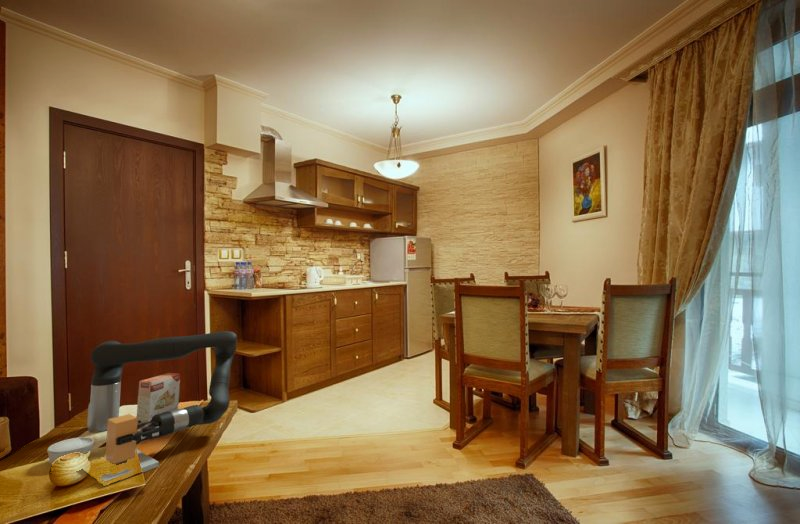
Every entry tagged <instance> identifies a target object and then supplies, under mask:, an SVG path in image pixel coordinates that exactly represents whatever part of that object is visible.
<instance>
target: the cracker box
mask: <svg viewBox="0 0 800 524" xmlns="http://www.w3.org/2000/svg"><path fill="white" fill-rule="evenodd" d="M180 384H181V374H180V373H175V372H166V373H163V374H160V375H157V376H153V377H150V378H146V379H142V380H140V381H139V382H138V394H137V406H136V407H137V409H136V417H137V418H138V419H137V421H138V420H141V423H142V422H146V421H147V422H150V421H151V420H152V418H153V416H154V415H156V414H160V413H164V412H167V411H171V410H175V409H179V399H180Z"/></svg>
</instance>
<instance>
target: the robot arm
mask: <svg viewBox="0 0 800 524" xmlns="http://www.w3.org/2000/svg"><path fill="white" fill-rule="evenodd" d="M237 346H238V336H237V334H236V333H235V332H234V331H229V330H223V331H222V330H221V331H214V332H209V333H204V334H195V335H194V334H193V335H185V336H184V335H183V336H169V337H160V338H155V339H150V340H145V341H141V342H135V343H121V342H119V341H116V340H107V341H104V342H102V343H100V344H99V345H96V346H95V348H94V349H93V350H92V351H91V353H90V356H89V357H90V361H91V362H92V364H93V365H94V370H93V374H92V376H91V384H90V398H89V400H90V402H89V403H88V407H87V408H88V409H87V421H86V422H87V424H86V429H87V430H88V432H105V431H107V424H108V419H111V418H115V417H119V416H120V403H121V388H122V387H121V386H122V376H123V372H124V371H123V370H124V364H129V363H135V362H154V361H155V362H157V361H158V362H159V361H169V360H170V361H171V360H177V359H178V360H179V359H182V358H184V357H186V356H188V355H191V354H192V353H195V352H197V351H198V350H202V349H207V348H213V350H214V358H215V359H214V360H215V362H214V363H215V364H214V369H213V370H212V371H213V372H212V373H211V374H212V375H211V377H210V383H209V388H208V393H209V396H210V397H211V398H210V401H209V402H208V403H207V405H205V406H203V407H202V406H201V405H198V404H195V405H189V406H186V407H181V408H178V409H175V410H171V411H167V412H164V413H160V414H156V415H154V416H153V418H152V420H151V421H150V422H147V421H146V422H142V423H141V420H138V421H137V432H134V433H132V435H131V434H128V435H124V436H121V437H118V438H117V439H116V445H121V444H124V443H127V442H135V441H136V444H137V443H143V442H145V441H150V440H154V439H158V438H163V437H165V436H169V435H171V434H175V433H178V432H181V431H182V430H186V429H188V428H191V427H194V426H198V425H209V424H213V423H216V422H217V421H219V420H220V419H221V418H222V417H223V416H224V414H225V413H226V412H227V411H228V409H229V406H230V393H229V388H230V380H231V366H232V364H233V363H232V362H233V359H234V357H235V354H236V352H237V348H238V347H237Z"/></svg>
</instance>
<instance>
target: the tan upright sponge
mask: <svg viewBox="0 0 800 524" xmlns="http://www.w3.org/2000/svg"><path fill="white" fill-rule="evenodd" d="M137 419H138V418H137V416H134V415H132V414H131V413H128V414H124V415H119V417H115V418H111V419H108V424H107V430H106V439H105V440H106V442H105V443H106V444H105V455H104V456H105V459H106V460H107V461H109V462H110V463H112V464H116V463H119V462H122V461H125V460H128V459H131V458H134V457H135V454H136V449H137V448H136V447H137V443H136V441H135V442H127V443H124V444H121V445H116V439H117V438H118V437H121V436H124V435H128V434H131V435H132V433H134V432H137Z"/></svg>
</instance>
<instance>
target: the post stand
mask: <svg viewBox="0 0 800 524" xmlns="http://www.w3.org/2000/svg"><path fill="white" fill-rule="evenodd" d="M136 450H137V453H138V457H139V461H140V466H141V469H142V471H143V473H145V472H149V471H151V470H154V469H157V468H159V467H160V465H159V464H160V463H159V461H158V460H157V459H155V458H153V457H151V456H149V455H148V454H146V453H145V452H143V451H140V450H139V449H137V448H136ZM126 462H127V460H125V461H122V462H119V463H116V465H119V464H122V463H126ZM133 471H134V470H133ZM133 471H132V470H128V469H127V470H126V469H124V470H122V471H121V472H118V473H116V474H112V473H109V474H104V475H102V477H100V478H101V479H102V480H103V481H104V482H106V481H109V480H112V479H114V478H117V477H119V476H122V475H125V474H128V473H131V472H133Z"/></svg>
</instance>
